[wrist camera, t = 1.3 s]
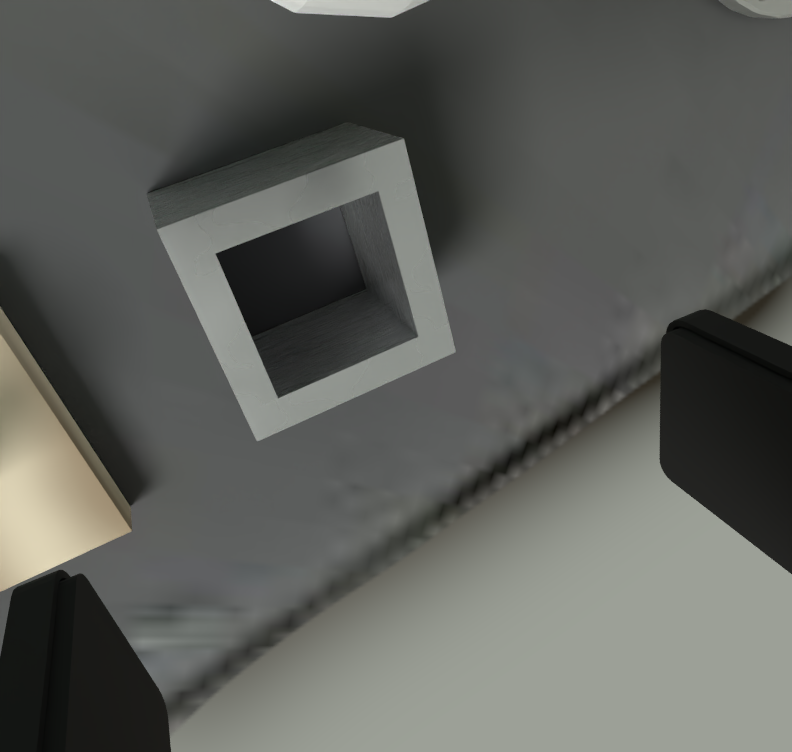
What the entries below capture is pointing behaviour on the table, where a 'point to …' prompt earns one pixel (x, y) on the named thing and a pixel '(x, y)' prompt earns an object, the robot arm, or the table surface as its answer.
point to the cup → (351, 7)
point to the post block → (47, 474)
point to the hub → (330, 325)
